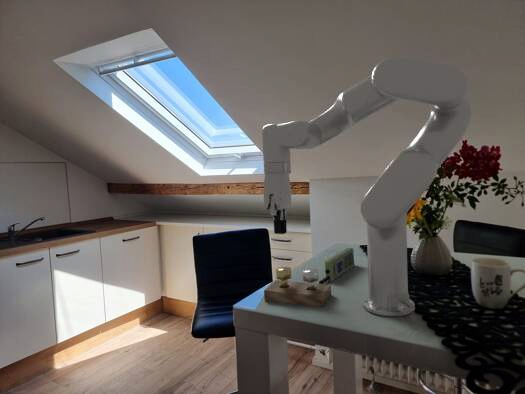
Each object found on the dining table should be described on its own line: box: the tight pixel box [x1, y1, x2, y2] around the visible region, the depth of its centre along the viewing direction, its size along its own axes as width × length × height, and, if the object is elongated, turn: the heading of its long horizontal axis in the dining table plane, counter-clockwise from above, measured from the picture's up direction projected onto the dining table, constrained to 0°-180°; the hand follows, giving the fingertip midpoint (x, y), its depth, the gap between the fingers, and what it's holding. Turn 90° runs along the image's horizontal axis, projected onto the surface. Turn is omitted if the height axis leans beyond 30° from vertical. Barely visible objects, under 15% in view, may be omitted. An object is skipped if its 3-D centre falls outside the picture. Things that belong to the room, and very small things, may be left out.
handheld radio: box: [318, 247, 355, 284], centre depth 123 cm, size 7×3×25 cm
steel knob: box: [301, 267, 320, 291], centre depth 103 cm, size 4×4×6 cm
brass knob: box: [275, 266, 292, 288], centre depth 106 cm, size 4×4×6 cm
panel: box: [263, 279, 332, 308], centre depth 105 cm, size 17×9×3 cm, turn 66°
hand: (280, 233), depth 105 cm, fingers closed
